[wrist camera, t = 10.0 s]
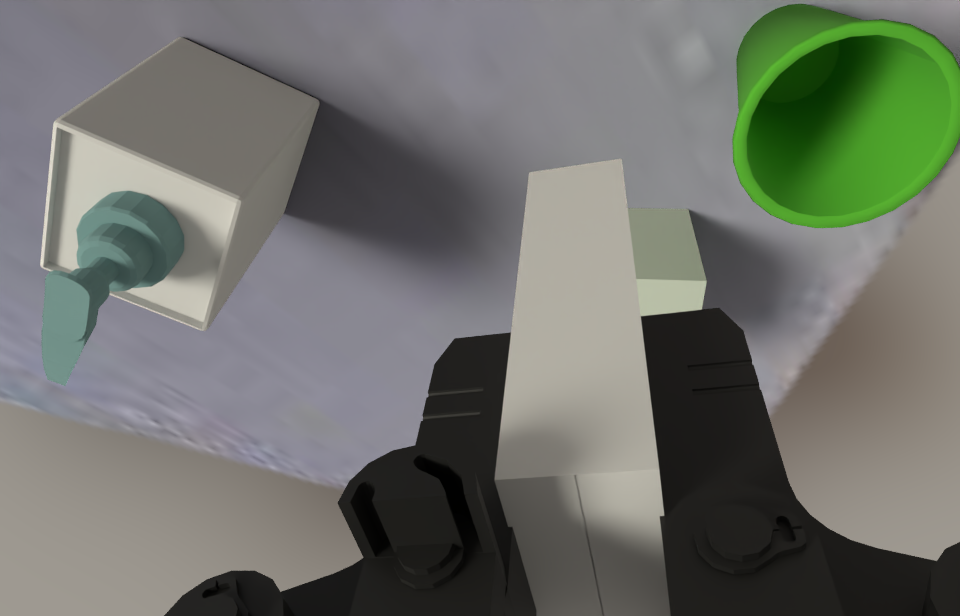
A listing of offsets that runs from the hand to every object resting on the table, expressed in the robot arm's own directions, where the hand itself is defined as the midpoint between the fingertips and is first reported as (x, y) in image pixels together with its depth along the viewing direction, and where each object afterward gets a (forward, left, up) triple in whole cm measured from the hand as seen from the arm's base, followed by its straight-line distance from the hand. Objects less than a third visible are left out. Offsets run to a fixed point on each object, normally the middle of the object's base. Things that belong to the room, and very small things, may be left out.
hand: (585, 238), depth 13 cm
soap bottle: (-22, -7, -31) cm, 38 cm away
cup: (+10, -8, -31) cm, 33 cm away
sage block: (+1, -19, -31) cm, 36 cm away
